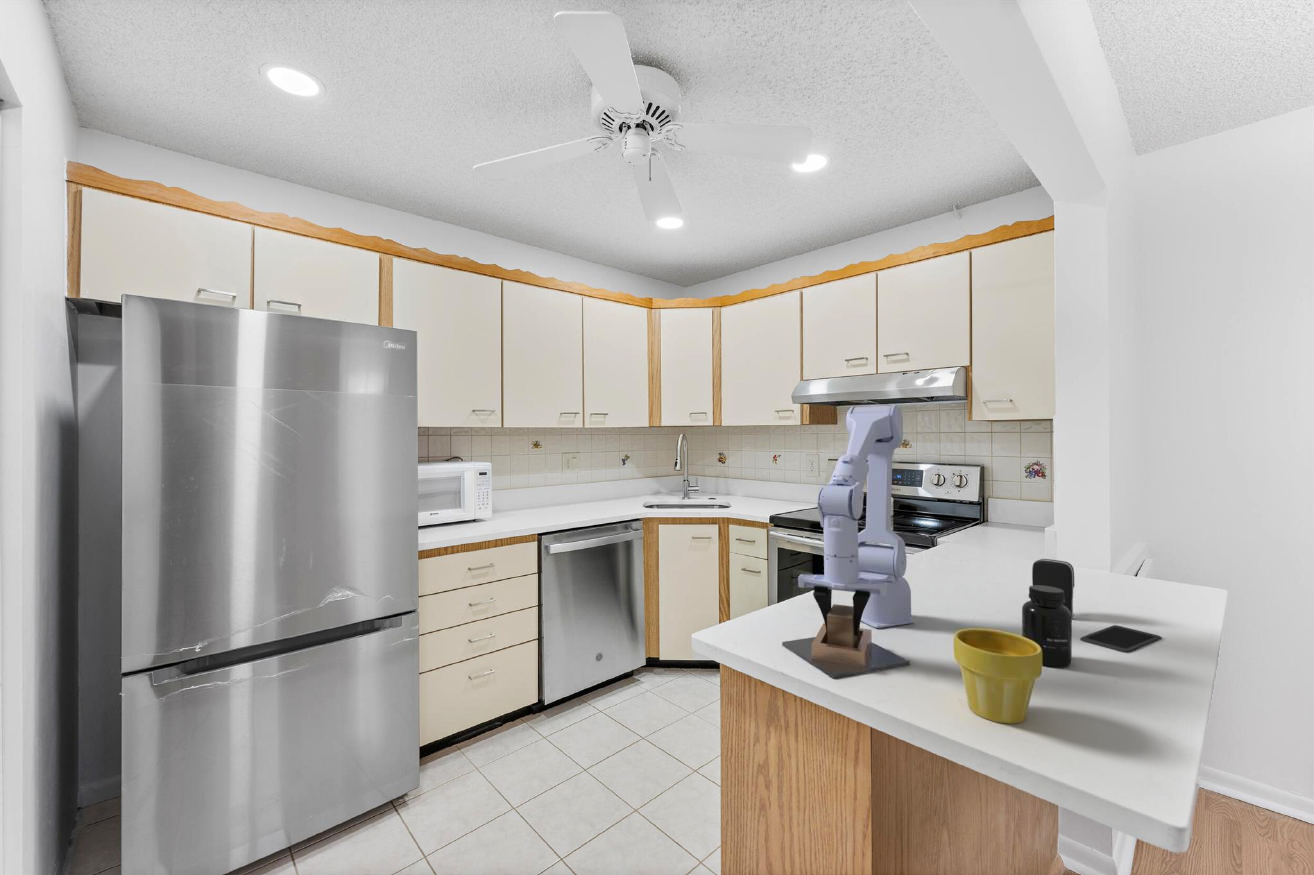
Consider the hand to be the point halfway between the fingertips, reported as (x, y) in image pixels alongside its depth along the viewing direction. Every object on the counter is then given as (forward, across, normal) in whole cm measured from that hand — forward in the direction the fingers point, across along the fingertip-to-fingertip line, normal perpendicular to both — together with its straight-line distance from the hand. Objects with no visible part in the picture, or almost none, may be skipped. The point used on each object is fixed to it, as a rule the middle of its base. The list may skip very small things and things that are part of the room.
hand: (842, 632), depth 96 cm
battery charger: (+4, +37, +40) cm, 54 cm away
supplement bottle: (+4, +31, +11) cm, 33 cm away
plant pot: (+4, +22, -12) cm, 25 cm away
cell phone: (+4, +45, +28) cm, 53 cm away
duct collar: (+4, 0, 0) cm, 4 cm away
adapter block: (+2, 0, 0) cm, 2 cm away
